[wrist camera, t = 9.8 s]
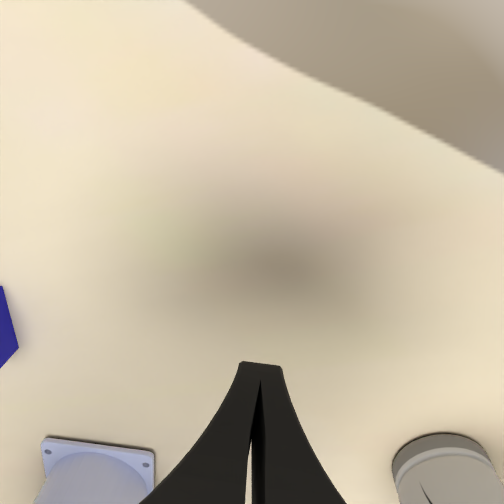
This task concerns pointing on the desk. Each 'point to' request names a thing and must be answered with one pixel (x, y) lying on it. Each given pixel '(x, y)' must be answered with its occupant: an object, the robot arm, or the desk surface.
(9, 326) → the cable clip
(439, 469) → the travel mug
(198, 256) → the desk surface
